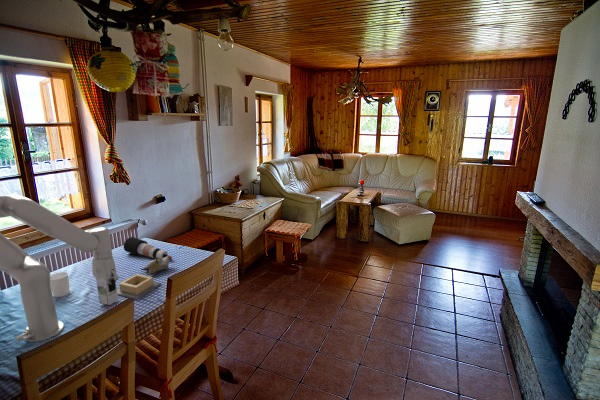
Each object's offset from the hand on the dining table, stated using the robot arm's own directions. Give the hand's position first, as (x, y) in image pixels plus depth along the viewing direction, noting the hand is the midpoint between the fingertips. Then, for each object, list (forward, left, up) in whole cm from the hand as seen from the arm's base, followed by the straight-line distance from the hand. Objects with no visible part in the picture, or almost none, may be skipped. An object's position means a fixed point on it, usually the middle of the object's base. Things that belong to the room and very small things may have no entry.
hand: (107, 289), depth 154 cm
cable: (+48, +22, -8) cm, 53 cm away
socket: (+15, -2, -7) cm, 17 cm away
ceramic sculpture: (+34, +3, -8) cm, 35 cm away
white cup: (-2, +30, -8) cm, 31 cm away
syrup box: (0, 0, -7) cm, 7 cm away
